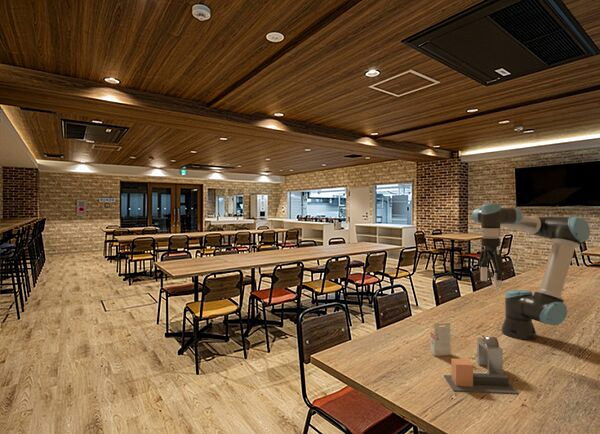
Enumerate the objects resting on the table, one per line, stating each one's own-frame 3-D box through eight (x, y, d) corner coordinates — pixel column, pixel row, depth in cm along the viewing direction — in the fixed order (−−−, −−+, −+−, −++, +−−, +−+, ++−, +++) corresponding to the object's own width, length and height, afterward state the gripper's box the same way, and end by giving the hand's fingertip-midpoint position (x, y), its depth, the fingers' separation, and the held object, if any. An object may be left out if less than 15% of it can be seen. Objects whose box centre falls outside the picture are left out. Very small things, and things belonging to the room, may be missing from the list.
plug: (503, 381, 126) (503, 360, 126) (510, 388, 121) (510, 366, 121) (451, 379, 128) (451, 358, 128) (456, 385, 123) (456, 364, 123)
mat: (502, 378, 129) (502, 377, 129) (518, 393, 118) (518, 392, 118) (443, 376, 131) (443, 375, 131) (453, 391, 121) (453, 390, 121)
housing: (489, 364, 141) (489, 332, 141) (502, 377, 130) (502, 343, 130) (477, 363, 142) (477, 332, 141) (489, 376, 131) (489, 342, 130)
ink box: (430, 352, 153) (430, 321, 152) (446, 352, 154) (446, 320, 153) (434, 356, 149) (434, 324, 149) (451, 355, 150) (450, 323, 150)
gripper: (470, 235, 164) (470, 278, 164) (495, 239, 139) (495, 290, 139) (486, 235, 163) (486, 278, 163) (514, 239, 138) (514, 290, 138)
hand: (490, 284), depth 151 cm, fingers open, 13 cm apart
